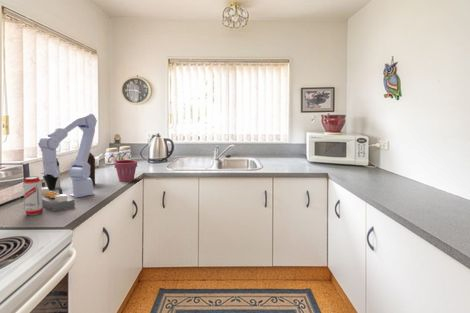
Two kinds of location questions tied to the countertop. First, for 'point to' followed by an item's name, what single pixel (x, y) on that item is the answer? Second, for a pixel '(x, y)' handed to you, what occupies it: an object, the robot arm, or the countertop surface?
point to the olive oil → (92, 169)
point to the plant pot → (125, 169)
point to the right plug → (60, 196)
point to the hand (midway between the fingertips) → (51, 189)
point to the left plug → (44, 190)
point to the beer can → (33, 195)
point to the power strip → (56, 203)
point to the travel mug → (57, 179)
